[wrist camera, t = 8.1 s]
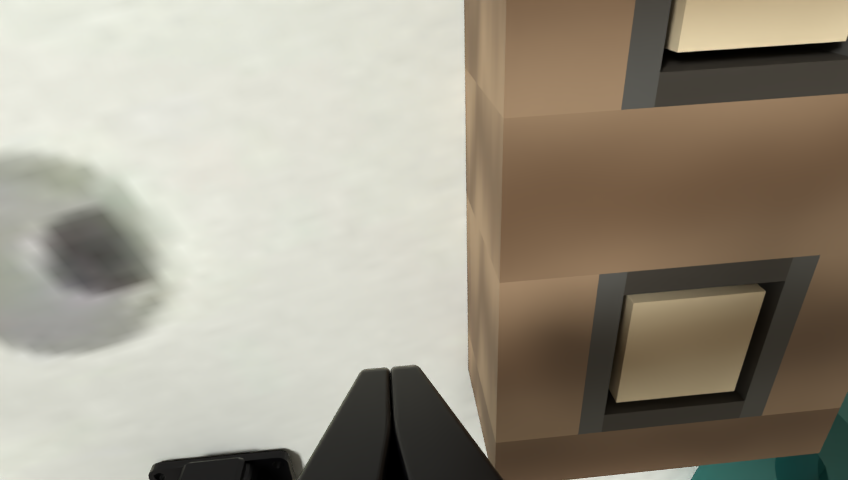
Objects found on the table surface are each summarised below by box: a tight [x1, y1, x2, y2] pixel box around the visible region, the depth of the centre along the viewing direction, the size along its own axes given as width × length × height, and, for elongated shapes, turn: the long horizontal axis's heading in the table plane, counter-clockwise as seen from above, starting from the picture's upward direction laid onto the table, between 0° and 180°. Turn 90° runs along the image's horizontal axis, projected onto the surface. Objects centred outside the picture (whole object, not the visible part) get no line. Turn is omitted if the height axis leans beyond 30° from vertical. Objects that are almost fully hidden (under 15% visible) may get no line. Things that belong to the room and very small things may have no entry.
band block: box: [464, 0, 848, 480], centre depth 16 cm, size 22×12×6 cm, turn 3°
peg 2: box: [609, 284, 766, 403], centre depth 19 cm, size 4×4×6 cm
